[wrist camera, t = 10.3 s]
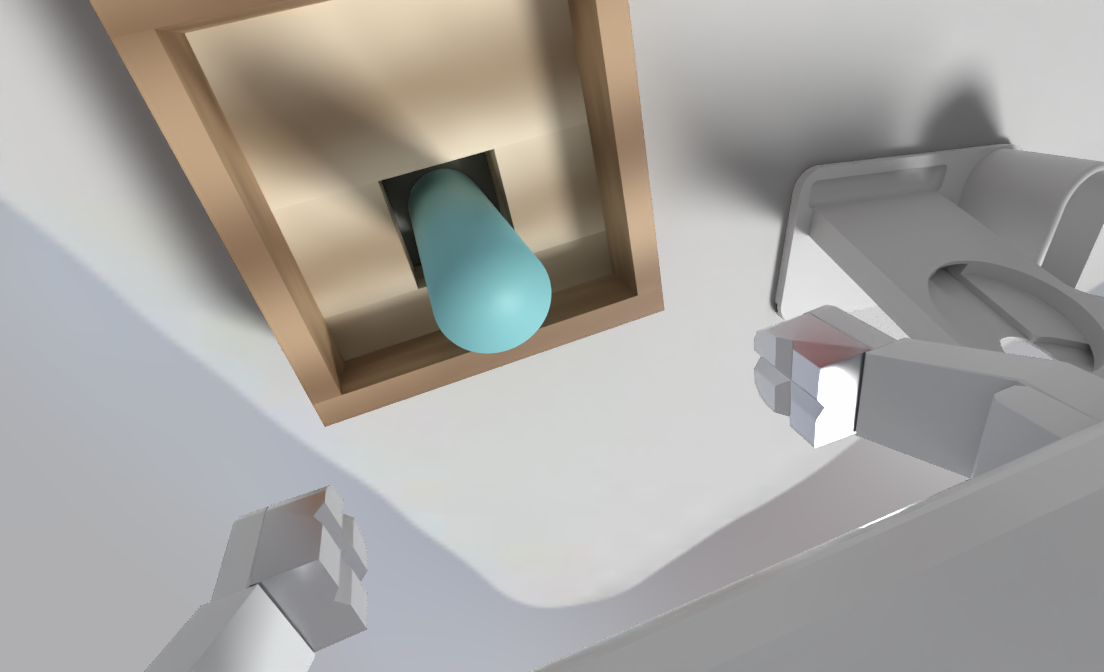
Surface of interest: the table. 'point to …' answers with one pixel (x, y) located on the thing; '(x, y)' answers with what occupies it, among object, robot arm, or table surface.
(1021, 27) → the table surface
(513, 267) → the peg
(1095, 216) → the phone holder
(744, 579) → the robot arm
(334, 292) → the box
